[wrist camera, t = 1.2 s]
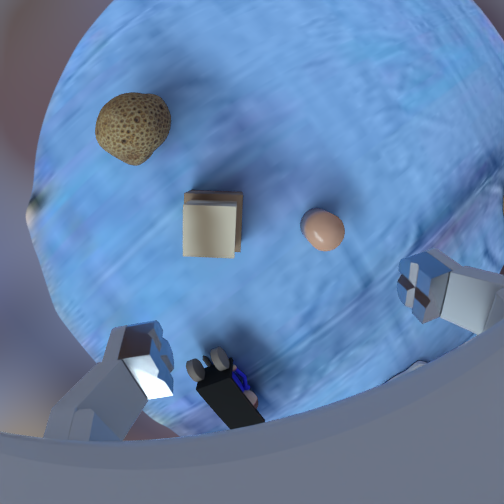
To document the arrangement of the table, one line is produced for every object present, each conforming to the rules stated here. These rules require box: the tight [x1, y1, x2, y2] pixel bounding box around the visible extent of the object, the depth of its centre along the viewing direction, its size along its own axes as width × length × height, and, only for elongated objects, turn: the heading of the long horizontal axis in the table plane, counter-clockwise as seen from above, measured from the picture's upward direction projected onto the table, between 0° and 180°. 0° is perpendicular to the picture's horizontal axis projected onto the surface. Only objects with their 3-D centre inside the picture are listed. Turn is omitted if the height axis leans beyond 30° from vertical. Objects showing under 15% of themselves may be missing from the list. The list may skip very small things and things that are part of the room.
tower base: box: [184, 190, 243, 252], centre depth 38 cm, size 7×7×5 cm
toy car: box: [186, 347, 265, 429], centre depth 45 cm, size 7×8×15 cm
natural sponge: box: [95, 93, 171, 165], centre depth 31 cm, size 9×9×10 cm
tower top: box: [183, 200, 237, 258], centre depth 33 cm, size 6×6×5 cm
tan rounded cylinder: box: [300, 208, 345, 251], centre depth 39 cm, size 5×5×5 cm
